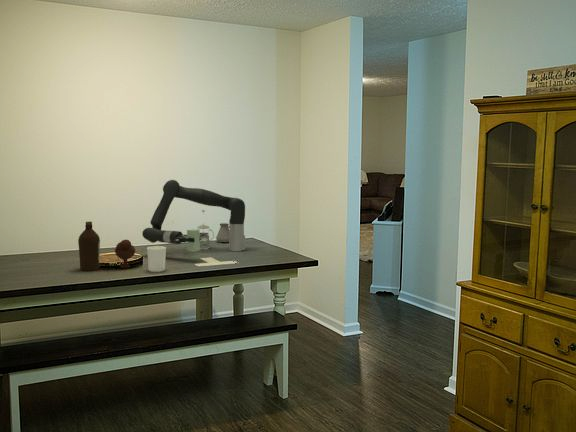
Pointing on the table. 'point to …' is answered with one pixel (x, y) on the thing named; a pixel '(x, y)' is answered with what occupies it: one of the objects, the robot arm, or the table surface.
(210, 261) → the T mat
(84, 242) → the olive oil
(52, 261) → the table surface
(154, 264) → the candle holder
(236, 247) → the robot arm
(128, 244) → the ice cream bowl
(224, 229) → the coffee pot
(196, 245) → the green block
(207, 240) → the french press
